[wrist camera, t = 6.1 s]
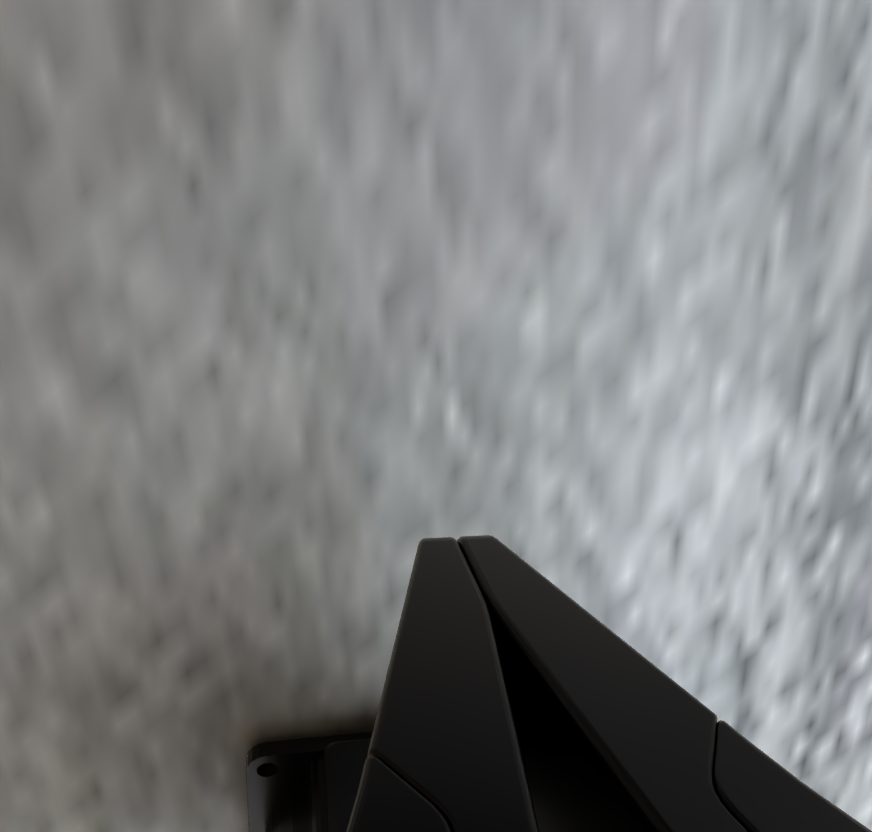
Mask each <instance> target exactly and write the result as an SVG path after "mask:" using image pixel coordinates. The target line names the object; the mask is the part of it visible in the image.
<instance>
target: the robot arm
mask: <svg viewBox="0 0 872 832" xmlns="http://www.w3.org/2000/svg"><path fill="white" fill-rule="evenodd" d="M246 778H247V798H248V818H249V832H872V831H871V830H869V829H868V828H867V827H865V826H864V825H862V824H861V823H859V822H858V821H856V820H855V819H854V818H852V817H851V816H849V815H848V814H846V813H845V812H844V811H842V810H841V809H839V808H838V807H837V806H835V805H834V804H832V803H831V802H830V801H828V800H827V799H825V798H824V797H823V796H821V795H820V794H818V793H817V792H815V791H814V790H813V789H811V788H810V787H808V786H807V785H806V784H804V783H803V782H801V781H800V780H799V779H797V778H796V777H795V776H794V775H792V774H791V773H790V772H788V771H787V770H786V769H784V768H783V767H782V766H781V765H779V764H778V763H777V762H775V761H774V760H773V759H771V758H770V757H769V756H768V755H766V754H765V753H764V752H762V751H761V750H760V749H758V748H757V747H756V746H755V745H753V744H752V743H751V742H750V741H748V740H747V739H746V738H745V737H743V736H742V735H741V734H740V733H738V732H737V731H736V730H735V729H733V728H732V727H731V726H730V725H728V724H727V723H726V722H725V721H719V722H718V723H717V716H716V715H715V714H714V713H713V712H712V711H710V710H709V709H708V708H707V707H706V706H704V705H703V704H702V703H701V702H699V701H698V700H697V699H696V698H694V697H693V696H692V695H691V694H689V693H688V692H687V691H686V690H684V689H683V688H682V687H681V686H679V685H678V684H677V683H676V682H674V681H673V680H672V679H671V678H669V677H668V676H667V675H666V674H664V673H663V672H662V671H661V670H659V669H658V668H657V667H656V666H654V665H653V664H652V663H651V662H649V661H648V660H647V659H646V658H645V657H643V656H642V655H641V654H640V653H638V652H637V651H636V650H635V649H633V648H632V647H631V646H630V645H628V644H627V643H626V642H625V641H623V640H622V639H621V638H620V637H618V636H617V635H616V634H615V633H613V632H612V631H611V630H610V629H608V628H607V627H606V626H605V625H603V624H602V623H601V622H600V621H598V620H597V619H596V618H595V617H593V616H592V615H591V614H590V613H588V612H587V611H586V610H585V609H583V608H582V607H581V606H580V605H579V604H577V603H576V602H575V601H574V600H572V599H571V598H570V597H569V596H567V595H566V594H565V593H564V592H562V591H561V590H560V589H559V588H557V587H556V586H555V585H554V584H552V583H551V582H550V581H549V580H547V579H546V578H545V577H544V576H542V575H541V574H540V573H539V572H537V571H536V570H535V569H534V568H532V567H531V566H530V565H529V564H527V563H526V562H525V561H524V560H522V559H521V558H520V557H519V556H518V555H516V554H515V553H514V552H513V551H511V550H510V549H509V548H508V547H506V546H505V545H504V544H503V543H501V542H500V541H499V540H498V539H496V538H495V537H493V536H489V535H484V536H464V537H460V538H459V539H458V540H457V541H456V539H454V538H451V537H443V538H425V539H422V540H421V541H420V542H419V545H418V549H417V553H416V557H415V561H414V565H413V569H412V573H411V578H410V582H409V586H408V590H407V594H406V598H405V602H404V606H403V610H402V614H401V619H400V623H399V627H398V631H397V635H396V639H395V643H394V647H393V651H392V655H391V660H390V664H389V668H388V672H387V676H386V680H385V684H384V688H383V692H382V696H381V701H380V705H379V709H378V713H377V717H376V721H375V725H374V729H373V732H370V733H359V734H349V735H338V736H328V737H317V738H307V739H296V740H286V741H275V742H266V743H262V744H258V745H256V746H255V747H253V748H252V749H251V750H250V751H249V752H248V755H247V763H246Z"/></svg>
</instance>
